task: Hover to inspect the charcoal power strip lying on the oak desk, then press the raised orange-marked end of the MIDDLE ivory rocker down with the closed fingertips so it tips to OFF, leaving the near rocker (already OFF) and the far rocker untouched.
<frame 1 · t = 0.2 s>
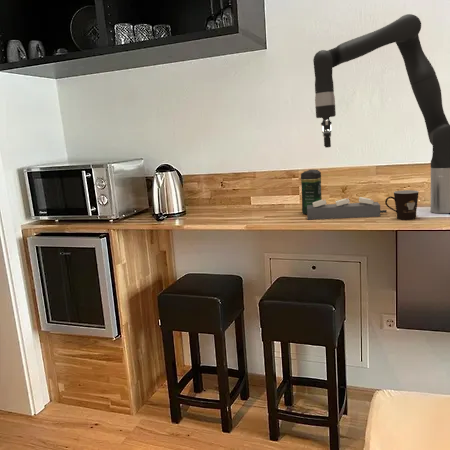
hand: (327, 146, 190), 28 cm above the counter, fingers open, 8 cm apart
coffee jar: (312, 213, 207), on the counter
coffee mug: (402, 219, 181), on the counter
far rocker: (319, 202, 193), point 6 cm above the counter, hinge at 14.0°
middle rocker: (342, 201, 192), point 6 cm above the counter, hinge at 14.0°
near rocker: (366, 200, 190), point 6 cm above the counter, hinge at -14.0°
power strip: (342, 216, 194), on the counter
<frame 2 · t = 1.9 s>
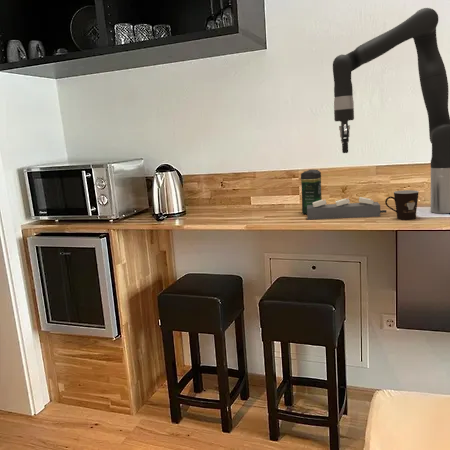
hand: (345, 152, 193), 25 cm above the counter, fingers closed
nothing on the counter moved.
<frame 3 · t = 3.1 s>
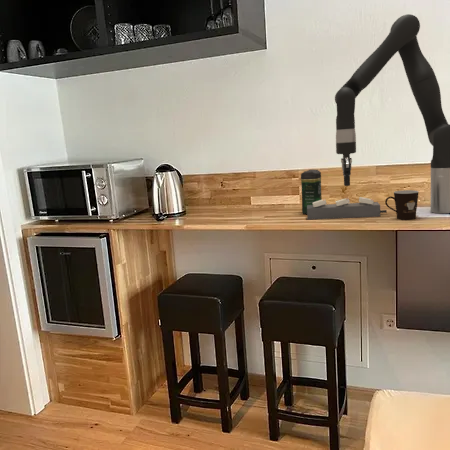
hand: (347, 185, 190), 12 cm above the counter, fingers closed
nothing on the counter moved.
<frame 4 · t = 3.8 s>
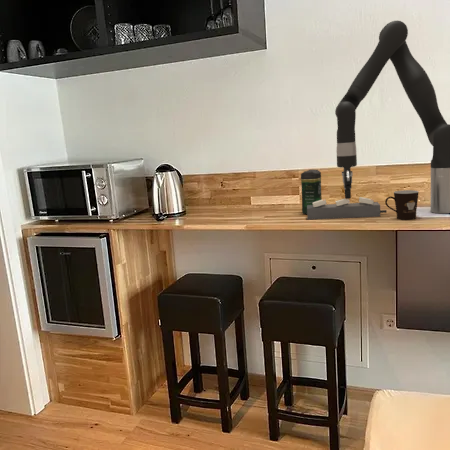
hand: (347, 198, 191), 7 cm above the counter, fingers closed
middle rocker: (342, 201, 192), point 6 cm above the counter, hinge at 13.8°, touching gripper
everything else where it was.
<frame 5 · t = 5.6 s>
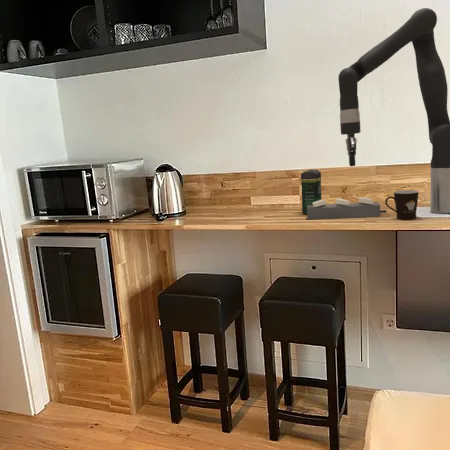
hand: (352, 165, 192), 20 cm above the counter, fingers closed
middle rocker: (342, 201, 192), point 6 cm above the counter, hinge at -13.4°
everything else where it was.
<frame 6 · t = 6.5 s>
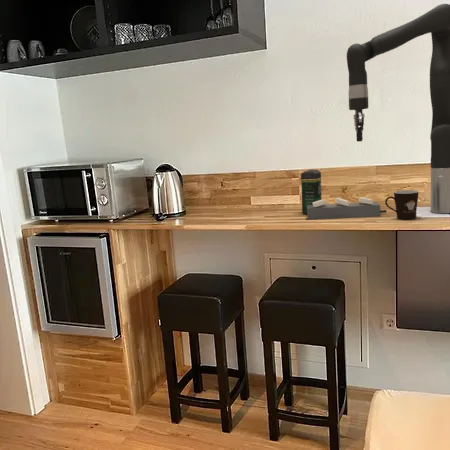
hand: (359, 141, 195), 29 cm above the counter, fingers closed
middle rocker: (342, 201, 192), point 6 cm above the counter, hinge at -19.3°, touching power strip
everything else where it was.
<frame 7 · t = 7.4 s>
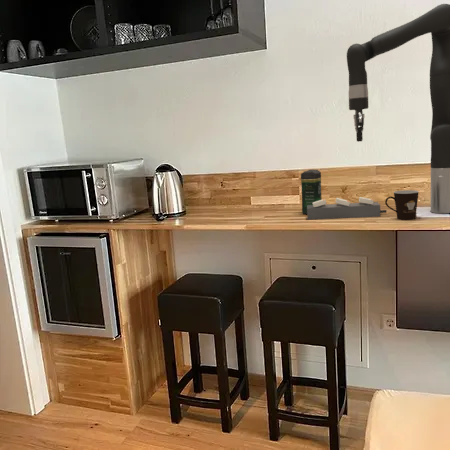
hand: (359, 141, 195), 29 cm above the counter, fingers closed
middle rocker: (342, 201, 192), point 6 cm above the counter, hinge at -17.4°
everything else where it was.
at the end: middle rocker at -17° (first picture: +14°); near rocker at -14° (first picture: -14°); far rocker at +14° (first picture: +14°) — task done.
